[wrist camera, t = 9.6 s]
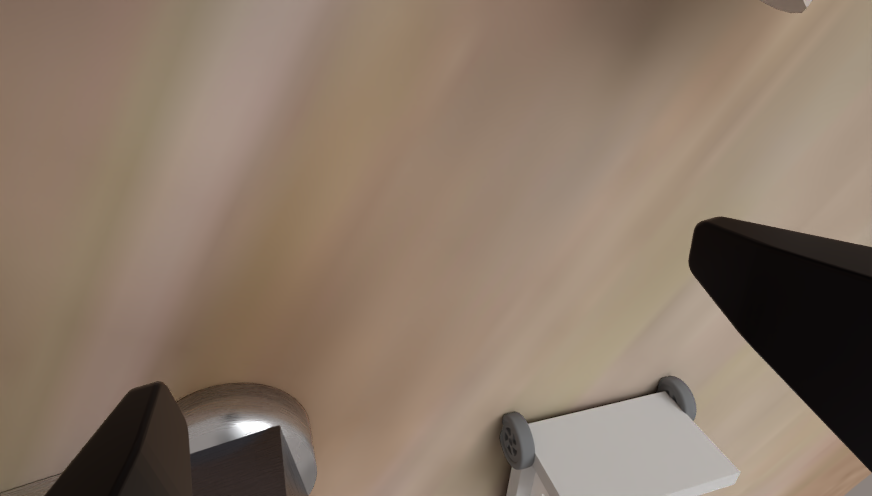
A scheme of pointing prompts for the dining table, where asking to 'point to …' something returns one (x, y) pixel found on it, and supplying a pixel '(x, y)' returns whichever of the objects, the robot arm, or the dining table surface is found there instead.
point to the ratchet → (233, 425)
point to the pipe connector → (788, 5)
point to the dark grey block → (247, 467)
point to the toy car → (617, 450)
